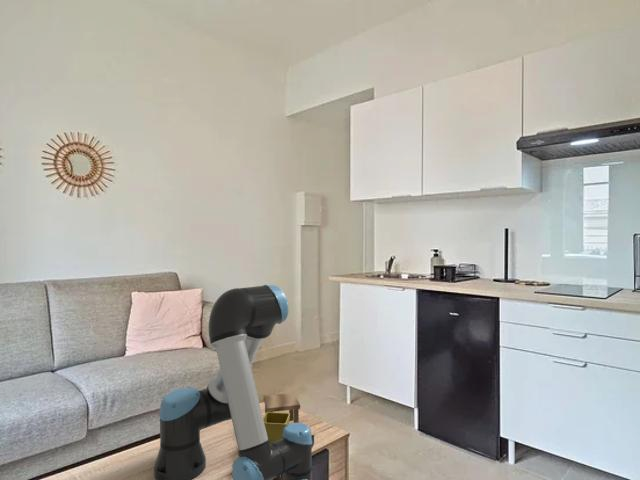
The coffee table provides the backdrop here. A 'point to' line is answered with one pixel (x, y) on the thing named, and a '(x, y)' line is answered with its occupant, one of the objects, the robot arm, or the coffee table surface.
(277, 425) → the flower pot
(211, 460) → the coffee table surface
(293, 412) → the stool
